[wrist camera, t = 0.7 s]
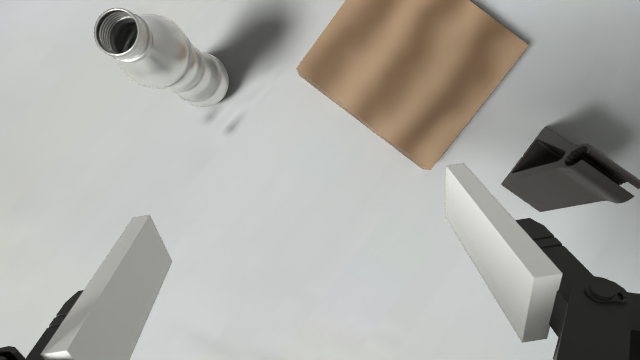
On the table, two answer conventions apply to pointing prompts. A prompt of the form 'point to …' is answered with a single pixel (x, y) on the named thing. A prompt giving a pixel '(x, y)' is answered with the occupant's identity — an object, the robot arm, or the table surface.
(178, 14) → the table surface
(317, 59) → the wooden board
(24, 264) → the table surface
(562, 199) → the phone stand
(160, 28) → the plastic bottle
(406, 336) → the table surface
